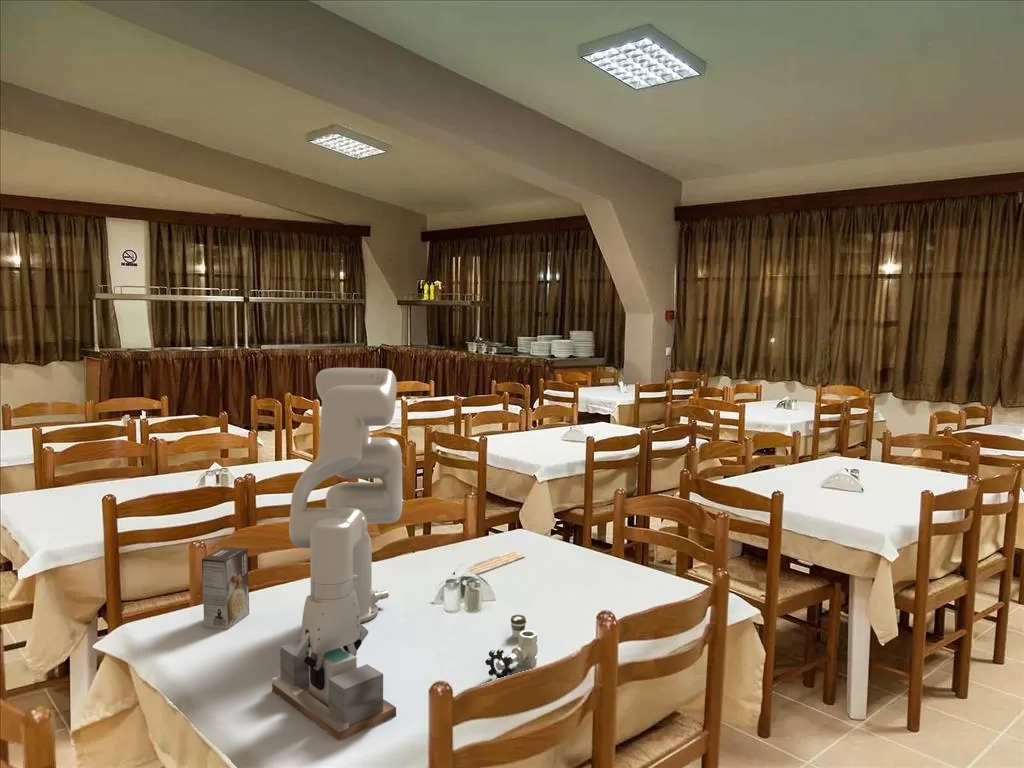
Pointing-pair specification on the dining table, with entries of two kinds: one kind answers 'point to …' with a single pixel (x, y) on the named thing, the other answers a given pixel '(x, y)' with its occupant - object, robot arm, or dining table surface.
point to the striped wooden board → (495, 562)
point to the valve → (515, 655)
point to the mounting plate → (334, 695)
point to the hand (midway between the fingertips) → (332, 680)
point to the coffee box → (225, 587)
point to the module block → (333, 670)
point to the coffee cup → (517, 624)
